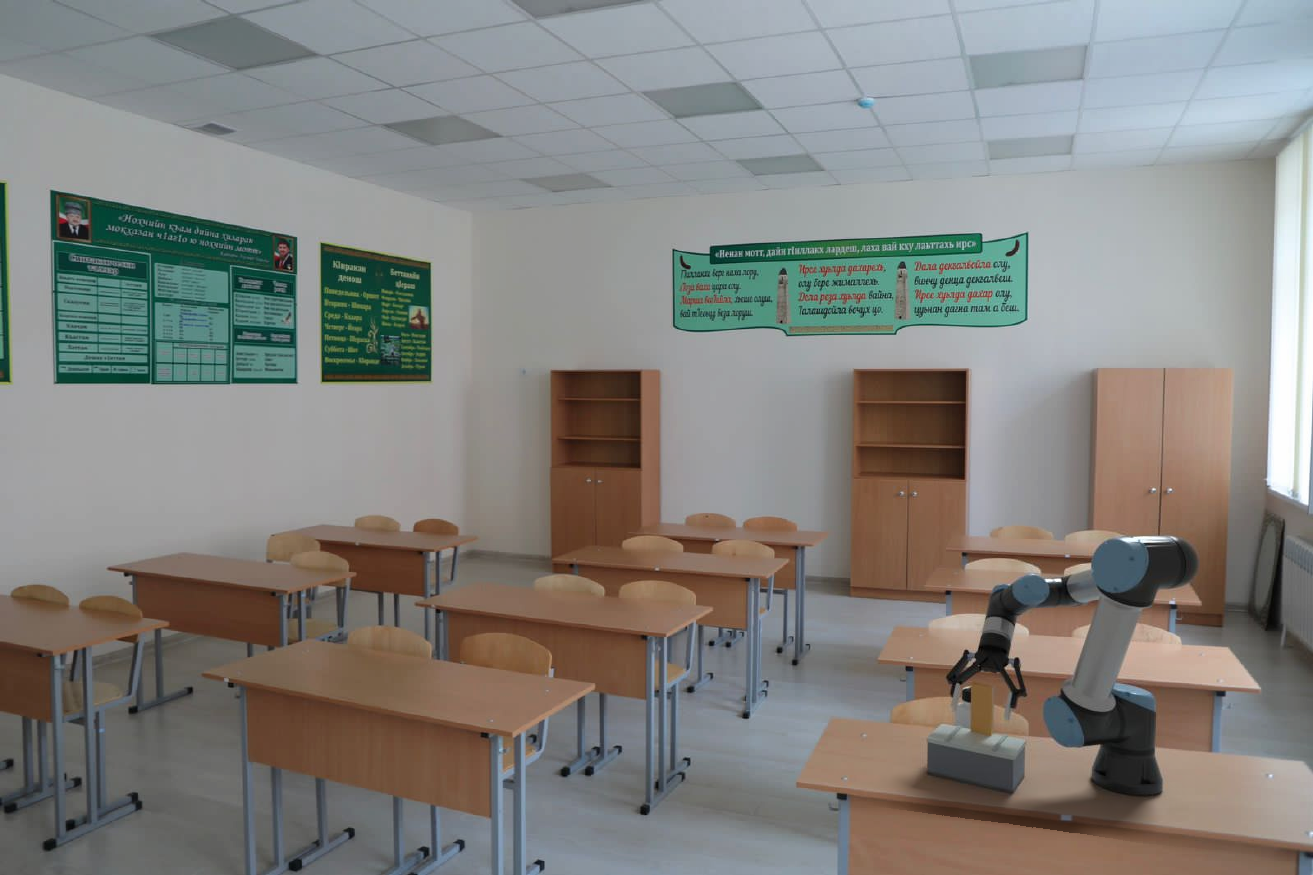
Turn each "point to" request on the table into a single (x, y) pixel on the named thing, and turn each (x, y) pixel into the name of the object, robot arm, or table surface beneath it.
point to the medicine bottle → (964, 710)
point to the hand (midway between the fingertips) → (979, 713)
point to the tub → (976, 767)
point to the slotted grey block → (979, 729)
